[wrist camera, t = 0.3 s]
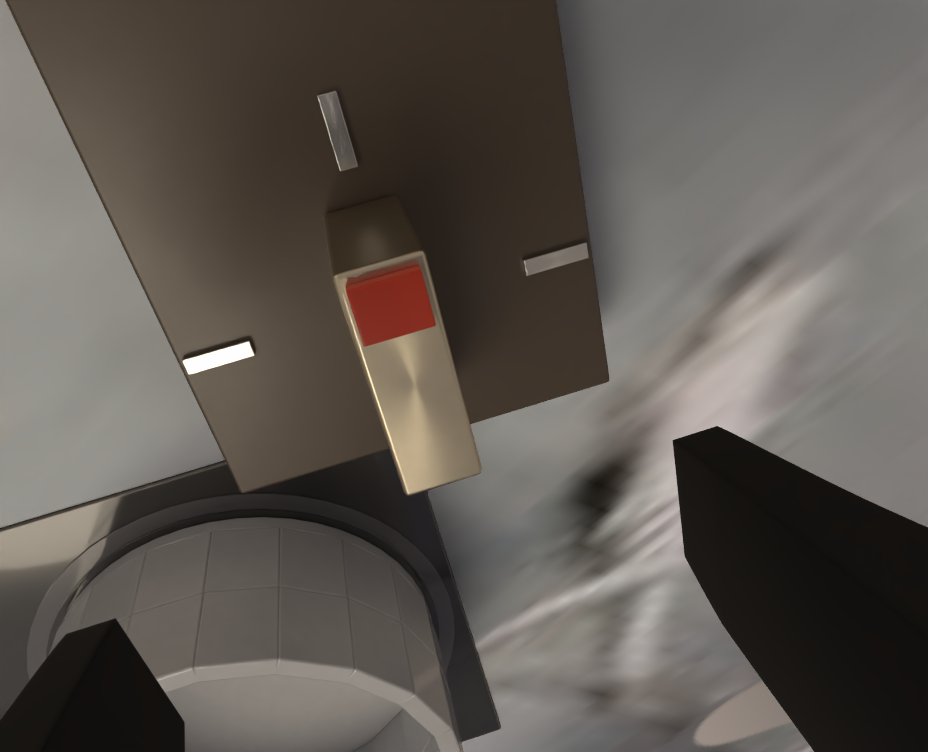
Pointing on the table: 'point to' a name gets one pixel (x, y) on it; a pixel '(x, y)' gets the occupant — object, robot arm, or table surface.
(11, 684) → the hob
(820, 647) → the robot arm
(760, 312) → the table surface
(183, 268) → the dial box
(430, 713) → the pot
